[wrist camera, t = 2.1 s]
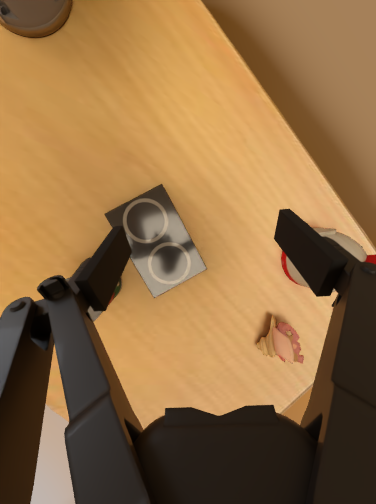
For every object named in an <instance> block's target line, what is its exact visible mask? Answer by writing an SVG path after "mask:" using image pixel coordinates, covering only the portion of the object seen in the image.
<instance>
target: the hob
mask: <svg viewBox="0 0 376 504" xmlns="http://www.w3.org/2000/svg"><path fill="white" fill-rule="evenodd" d="M105 216H106V218H107V220H108V221H109V223H110V225H111V226H112V228H113V227H114V226H123V228H124V231H125V233H126V236H127V239H128V242H129V245H130V247H131V250H132V253H131V255H130V258H131V260H132V262H133V263H134V265H135V267H136V268H137V270H138V272H139V273H140V275H141V277H142V278H143V280H144V282H145V284H146V285H147V287H148V289H149V290H150V292H151V294H152V295H153V297H154V298H155V297H157V296H159V295H161V294H163V293H164V292H166V291H168V290H170V289H172V288H173V287H175V286H177V285H179V284H181V283H182V282H184V281H186V280H188V279H190V278H192V277H193V276H195V275H197V274H199V273H201V272H202V271H204V270H206V269H207V268H206V266H205V264H204V262H203V260H202V258H201V256H200V255H199V253H198V251H197V249H196V247H195V245H194V243H193V241H192V239H191V238H190V236H189V234H188V232H187V230H186V228H185V226H184V224H183V222H182V221H181V219H180V217H179V215H178V213H177V211H176V209H175V207H174V205H173V204H172V202H171V200H170V198H169V196H168V194H167V192H166V190H165V188H164V187H163V185H162V184H161V185H159V186H157V187H155V188H153V189H151V190H149V191H147V192H145V193H144V194H142V195H140V196H138V197H136V198H134V199H132V200H130V201H128V202H126V203H124V204H123V205H121V206H119V207H117V208H115V209H113V210H111V211H109V212H107V213H105Z"/></svg>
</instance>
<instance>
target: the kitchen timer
mask: <svg viewBox="0 0 376 504" xmlns="http://www.w3.org/2000/svg"><path fill="white" fill-rule="evenodd" d="M313 229H314V230H315V231H316V232H317V233H319V234H320V235H321V236H322V237H324V236H326V237H329V238H331V239H333V240H335V241H336V242H337V243H338V244H340V246H342V247H343V248H345V249H346V250H347V251H348V252H350V253H351V254H352V255H353V256H355V257H356V258H357V259H358V260H360V261H361V262H370V263H373V264H376V255H367V254H366V252H365V251H364V249H363V247H362V246H361V245H360V244H358V243H357V242H356V241H354V240H353V239H351V238H350V237H348V236H347V235H344V234H342V233H339V232H336V229H328V228H313ZM281 259H282V267H283V269H284V272H285V274H286V275H287V276H288V278H289V279H290V280H292V281H293V282H295V283H296V284H299V285H301V286H305V287H309V285H308V284H307V283H306V281H305V280H304V279H303V277H302V276H301V275H300V273H299V272H298V271H297V269H296V268H295V266H294V265H293V264H292V262H291V261H290V260H289V258H288V257H287V256H286V254H285V253H284V252H282V258H281ZM309 288H310V287H309ZM335 291H336V290H335V289H333V291H332V292H335Z"/></svg>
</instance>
